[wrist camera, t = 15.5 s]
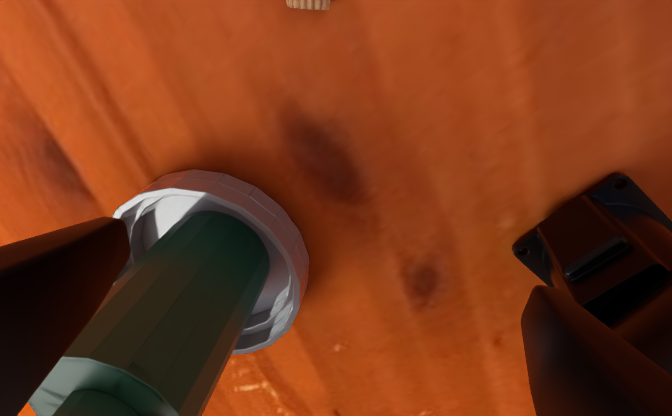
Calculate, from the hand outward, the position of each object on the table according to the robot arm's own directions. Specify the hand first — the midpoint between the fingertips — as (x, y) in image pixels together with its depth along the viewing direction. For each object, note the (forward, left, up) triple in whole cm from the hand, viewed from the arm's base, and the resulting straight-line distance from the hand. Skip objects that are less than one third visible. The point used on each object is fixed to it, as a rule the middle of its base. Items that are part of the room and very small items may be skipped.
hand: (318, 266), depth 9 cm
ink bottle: (+1, +13, -12) cm, 18 cm away
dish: (+1, +13, -13) cm, 18 cm away
